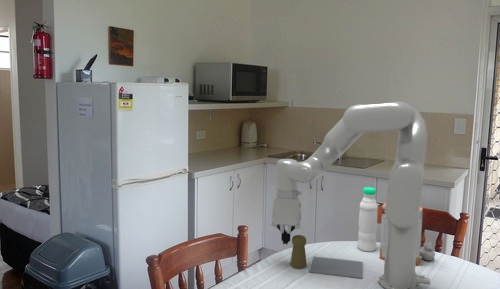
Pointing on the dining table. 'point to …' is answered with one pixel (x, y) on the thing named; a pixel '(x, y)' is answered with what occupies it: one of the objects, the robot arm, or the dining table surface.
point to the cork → (298, 252)
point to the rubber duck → (427, 251)
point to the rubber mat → (337, 267)
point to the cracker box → (383, 235)
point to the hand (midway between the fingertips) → (285, 242)
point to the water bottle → (367, 221)
